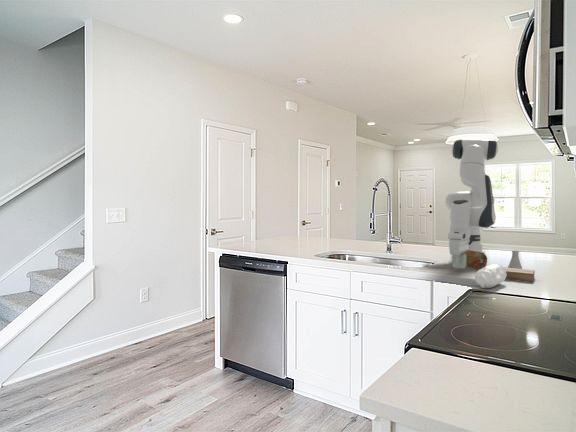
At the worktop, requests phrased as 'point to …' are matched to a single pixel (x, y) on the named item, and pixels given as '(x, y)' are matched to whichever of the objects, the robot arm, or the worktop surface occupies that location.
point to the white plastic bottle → (490, 276)
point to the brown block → (520, 274)
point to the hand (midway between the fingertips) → (459, 262)
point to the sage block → (462, 261)
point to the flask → (515, 260)
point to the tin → (475, 259)
